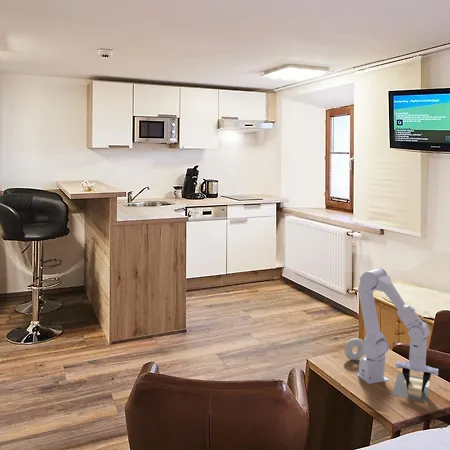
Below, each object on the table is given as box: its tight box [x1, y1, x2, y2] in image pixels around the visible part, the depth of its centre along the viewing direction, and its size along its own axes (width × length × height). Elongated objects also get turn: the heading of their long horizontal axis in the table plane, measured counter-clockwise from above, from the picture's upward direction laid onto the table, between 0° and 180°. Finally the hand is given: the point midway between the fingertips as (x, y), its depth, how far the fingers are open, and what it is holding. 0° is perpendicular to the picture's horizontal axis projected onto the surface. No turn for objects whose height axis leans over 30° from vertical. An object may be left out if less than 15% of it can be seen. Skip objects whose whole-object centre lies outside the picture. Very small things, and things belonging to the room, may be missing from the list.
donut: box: [343, 337, 365, 361], centre depth 206 cm, size 10×4×10 cm, turn 108°
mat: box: [391, 372, 431, 404], centre depth 182 cm, size 20×12×1 cm, turn 154°
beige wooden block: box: [408, 378, 423, 398], centre depth 178 cm, size 8×4×3 cm, turn 154°
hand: (415, 389), depth 179 cm, fingers closed on beige wooden block, 4 cm apart
